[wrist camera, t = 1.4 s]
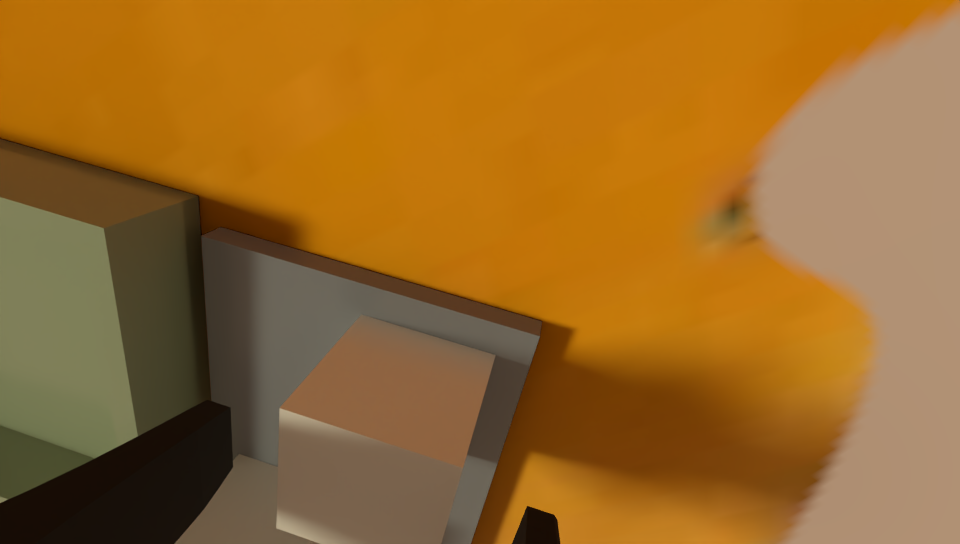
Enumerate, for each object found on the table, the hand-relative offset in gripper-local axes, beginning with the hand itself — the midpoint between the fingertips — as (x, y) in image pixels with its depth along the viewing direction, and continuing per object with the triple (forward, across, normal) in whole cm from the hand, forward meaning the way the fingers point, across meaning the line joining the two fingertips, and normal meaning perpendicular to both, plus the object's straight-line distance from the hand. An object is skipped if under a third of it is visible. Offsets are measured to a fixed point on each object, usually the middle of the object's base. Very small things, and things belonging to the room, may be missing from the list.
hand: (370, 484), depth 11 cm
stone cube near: (+4, 0, 0) cm, 4 cm away
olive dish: (+4, +15, +3) cm, 16 cm away
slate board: (+4, +2, +4) cm, 6 cm away
